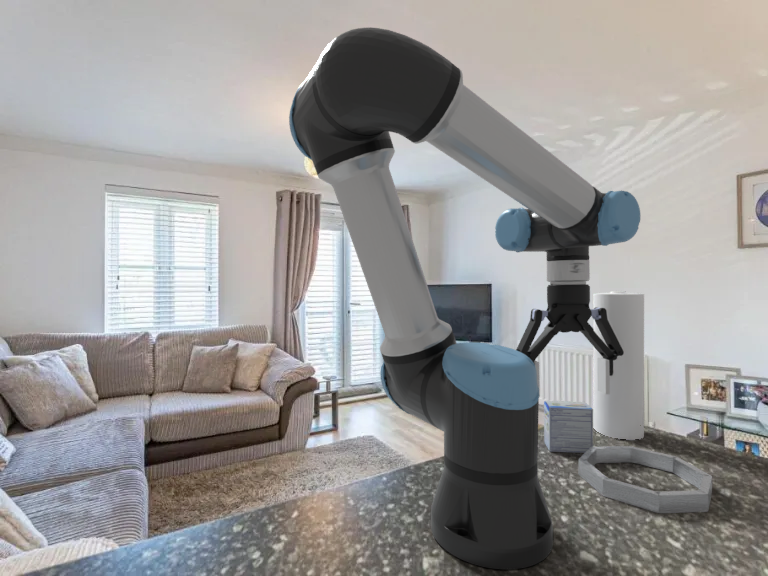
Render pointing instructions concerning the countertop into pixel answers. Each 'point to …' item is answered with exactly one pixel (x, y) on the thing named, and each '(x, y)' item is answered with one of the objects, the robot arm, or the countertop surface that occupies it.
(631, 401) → the cylinder container
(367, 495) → the countertop surface
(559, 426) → the medicine box
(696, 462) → the countertop surface
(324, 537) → the countertop surface
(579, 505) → the countertop surface
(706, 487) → the collar
